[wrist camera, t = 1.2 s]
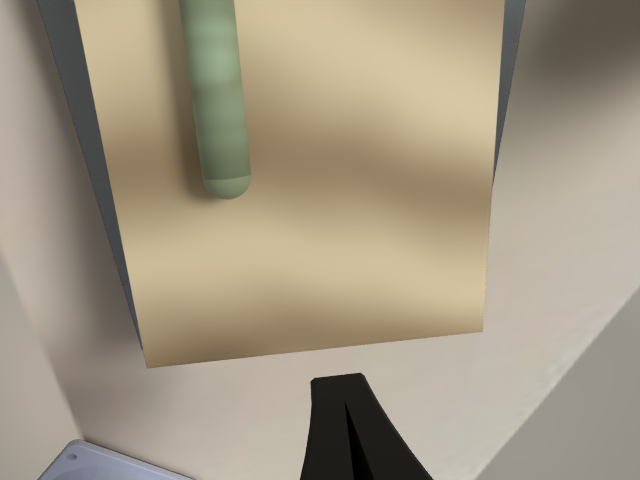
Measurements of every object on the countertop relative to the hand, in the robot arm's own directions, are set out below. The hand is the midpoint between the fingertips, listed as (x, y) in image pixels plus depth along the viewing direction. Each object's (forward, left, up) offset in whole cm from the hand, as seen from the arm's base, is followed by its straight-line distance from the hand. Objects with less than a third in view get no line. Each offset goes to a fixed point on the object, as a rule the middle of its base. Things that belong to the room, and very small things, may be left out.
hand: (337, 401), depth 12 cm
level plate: (+3, +3, -6) cm, 7 cm away
